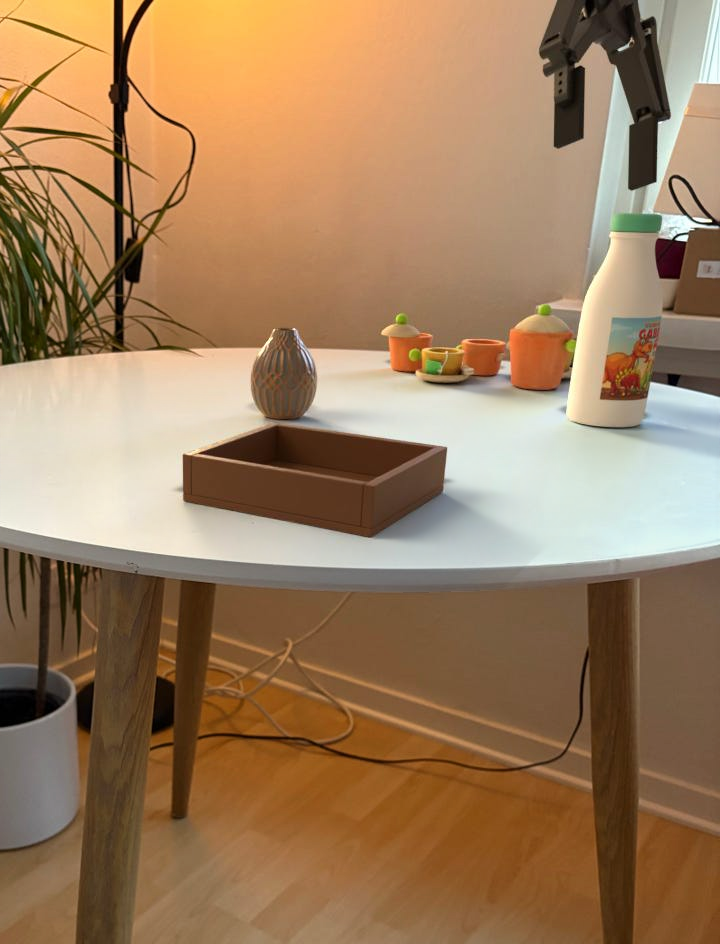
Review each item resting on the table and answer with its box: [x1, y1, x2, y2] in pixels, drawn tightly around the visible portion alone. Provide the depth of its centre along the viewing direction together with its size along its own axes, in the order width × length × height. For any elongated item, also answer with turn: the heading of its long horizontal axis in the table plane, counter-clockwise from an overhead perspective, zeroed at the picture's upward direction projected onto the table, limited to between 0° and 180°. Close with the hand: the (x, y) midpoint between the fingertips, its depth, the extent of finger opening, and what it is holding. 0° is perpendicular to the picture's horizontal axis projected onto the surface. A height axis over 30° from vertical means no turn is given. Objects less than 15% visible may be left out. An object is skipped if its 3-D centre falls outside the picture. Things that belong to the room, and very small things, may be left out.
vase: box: [250, 327, 318, 420], centre depth 102 cm, size 7×7×9 cm
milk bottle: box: [565, 212, 664, 428], centre depth 99 cm, size 8×8×20 cm
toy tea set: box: [381, 303, 577, 391], centre depth 125 cm, size 26×16×10 cm, turn 74°
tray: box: [182, 422, 448, 538], centre depth 75 cm, size 16×14×4 cm
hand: (606, 165), depth 97 cm, fingers open, 13 cm apart
